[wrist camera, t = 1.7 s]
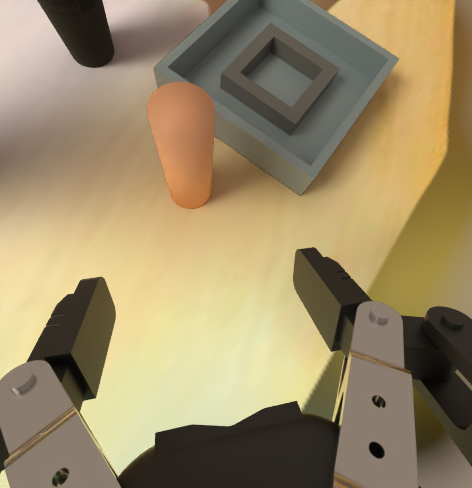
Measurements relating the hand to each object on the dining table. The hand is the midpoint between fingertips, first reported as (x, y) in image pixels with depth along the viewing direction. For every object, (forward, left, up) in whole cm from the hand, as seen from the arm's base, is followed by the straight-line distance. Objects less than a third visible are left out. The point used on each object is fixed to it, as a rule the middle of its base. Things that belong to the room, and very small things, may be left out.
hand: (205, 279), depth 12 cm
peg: (-8, +8, -16) cm, 20 cm away
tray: (-8, +25, -16) cm, 31 cm away
